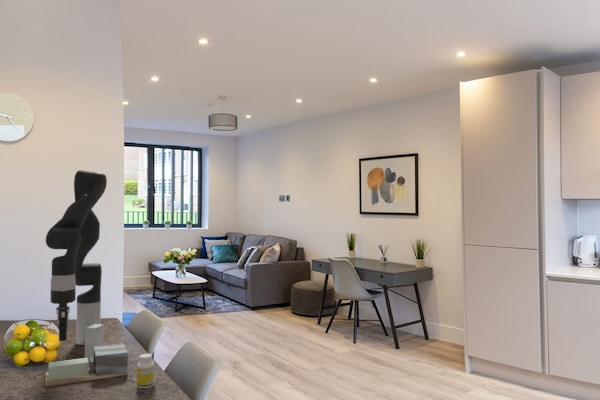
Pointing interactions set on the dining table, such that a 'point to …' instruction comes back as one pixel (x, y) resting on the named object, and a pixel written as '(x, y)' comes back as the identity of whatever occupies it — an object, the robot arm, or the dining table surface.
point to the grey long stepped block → (100, 365)
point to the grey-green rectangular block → (70, 368)
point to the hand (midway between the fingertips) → (62, 338)
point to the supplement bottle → (145, 371)
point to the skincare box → (93, 338)
